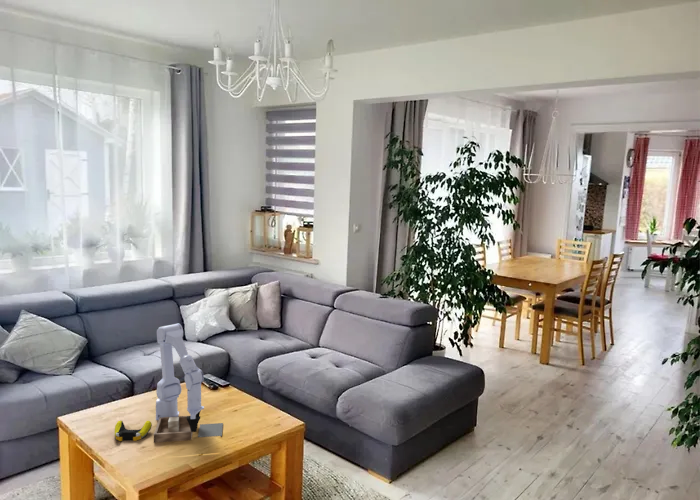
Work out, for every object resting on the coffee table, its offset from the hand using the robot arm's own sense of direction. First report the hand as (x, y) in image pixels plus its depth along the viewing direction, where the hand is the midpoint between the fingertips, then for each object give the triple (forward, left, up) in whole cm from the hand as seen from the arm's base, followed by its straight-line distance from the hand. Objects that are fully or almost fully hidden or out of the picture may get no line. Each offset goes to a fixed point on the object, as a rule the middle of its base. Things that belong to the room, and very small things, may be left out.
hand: (194, 427), depth 230 cm
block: (-9, 0, -2) cm, 9 cm away
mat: (+7, 0, -2) cm, 7 cm away
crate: (-8, 0, -2) cm, 8 cm away
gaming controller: (-26, 0, -2) cm, 26 cm away
